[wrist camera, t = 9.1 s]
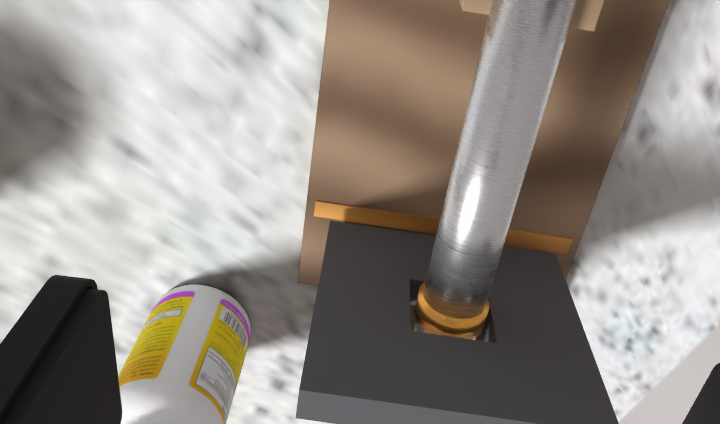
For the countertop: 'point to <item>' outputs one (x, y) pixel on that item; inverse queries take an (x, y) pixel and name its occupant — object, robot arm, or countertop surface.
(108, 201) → the countertop surface
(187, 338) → the supplement bottle
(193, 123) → the countertop surface
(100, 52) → the countertop surface
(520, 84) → the pipe
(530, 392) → the dark grey flat plate
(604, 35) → the stand
